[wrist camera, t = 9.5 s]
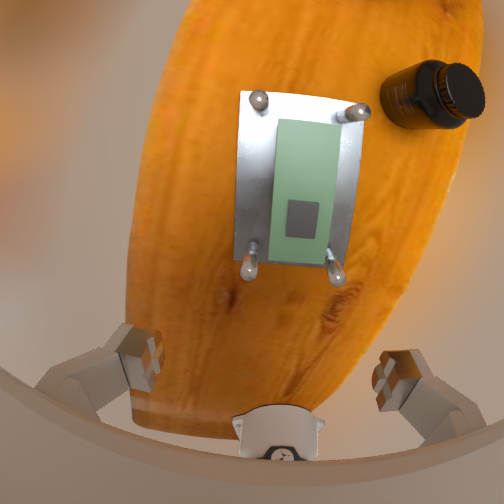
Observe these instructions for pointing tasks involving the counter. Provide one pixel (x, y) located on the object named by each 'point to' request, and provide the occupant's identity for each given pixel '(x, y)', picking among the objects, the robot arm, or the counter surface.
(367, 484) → the robot arm
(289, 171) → the green rectangular block
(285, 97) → the chassis
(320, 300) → the counter surface
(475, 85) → the supplement bottle
